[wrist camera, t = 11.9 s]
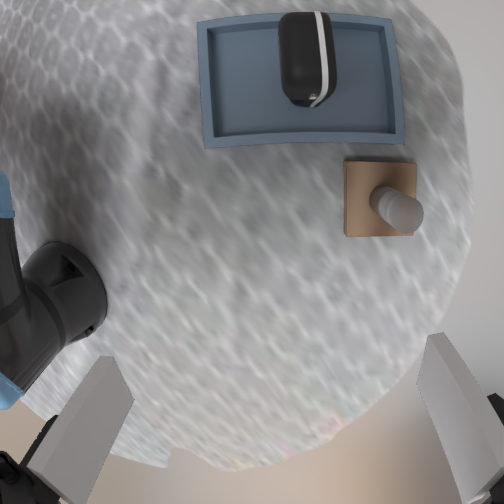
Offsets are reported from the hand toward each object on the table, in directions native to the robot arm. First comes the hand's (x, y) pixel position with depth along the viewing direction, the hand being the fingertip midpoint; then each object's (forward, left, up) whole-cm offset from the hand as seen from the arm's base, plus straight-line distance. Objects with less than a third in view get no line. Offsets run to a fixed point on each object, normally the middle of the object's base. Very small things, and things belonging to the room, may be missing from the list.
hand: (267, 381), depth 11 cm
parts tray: (+3, +16, -24) cm, 29 cm away
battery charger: (+3, +16, -23) cm, 28 cm away
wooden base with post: (+11, +3, -24) cm, 26 cm away
